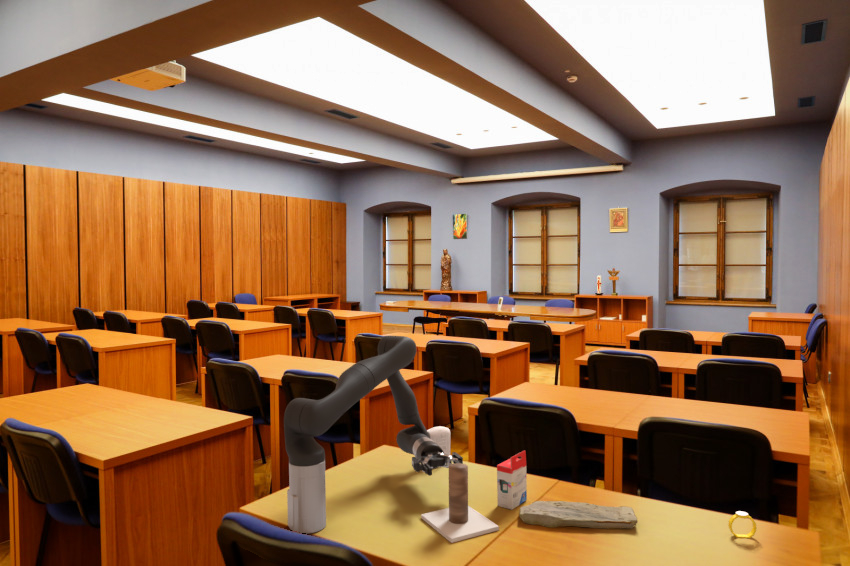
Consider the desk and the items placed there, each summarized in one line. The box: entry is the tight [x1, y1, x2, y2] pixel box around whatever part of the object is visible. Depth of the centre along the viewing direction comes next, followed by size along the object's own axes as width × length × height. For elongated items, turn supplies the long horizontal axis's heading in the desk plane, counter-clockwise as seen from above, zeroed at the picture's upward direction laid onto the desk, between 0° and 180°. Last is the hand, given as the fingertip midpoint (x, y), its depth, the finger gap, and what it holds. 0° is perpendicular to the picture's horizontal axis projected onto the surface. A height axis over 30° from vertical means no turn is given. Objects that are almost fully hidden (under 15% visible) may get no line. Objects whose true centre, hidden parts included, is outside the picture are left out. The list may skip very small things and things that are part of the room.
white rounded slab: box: [426, 425, 452, 455], centre depth 196 cm, size 10×4×12 cm, turn 129°
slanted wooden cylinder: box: [448, 462, 469, 524], centre depth 150 cm, size 5×5×14 cm
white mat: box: [420, 505, 500, 544], centre depth 149 cm, size 14×16×1 cm
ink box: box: [496, 450, 528, 510], centre depth 162 cm, size 8×5×15 cm, turn 141°
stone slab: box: [519, 500, 638, 529], centre depth 151 cm, size 12×4×30 cm
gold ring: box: [727, 510, 757, 539], centre depth 140 cm, size 6×3×6 cm, turn 82°
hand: (445, 470), depth 159 cm, fingers open, 8 cm apart
